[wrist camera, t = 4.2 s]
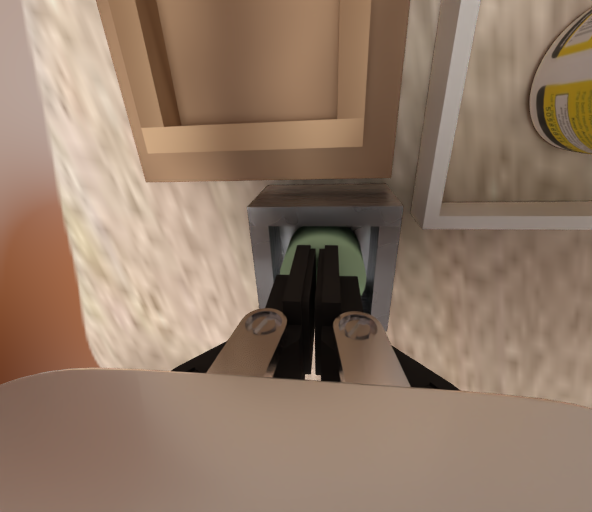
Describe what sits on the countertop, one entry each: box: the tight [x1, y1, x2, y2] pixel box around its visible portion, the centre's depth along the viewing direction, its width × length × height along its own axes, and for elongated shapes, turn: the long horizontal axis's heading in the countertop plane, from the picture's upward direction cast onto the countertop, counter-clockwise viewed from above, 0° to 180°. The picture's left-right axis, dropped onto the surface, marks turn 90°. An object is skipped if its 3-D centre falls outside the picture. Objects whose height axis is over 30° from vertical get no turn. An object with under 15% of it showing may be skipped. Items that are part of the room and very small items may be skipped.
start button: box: [280, 226, 366, 295], centre depth 13 cm, size 4×4×2 cm
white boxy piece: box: [247, 183, 403, 331], centre depth 14 cm, size 6×6×4 cm
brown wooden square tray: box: [96, 0, 410, 182], centre depth 11 cm, size 12×12×3 cm
